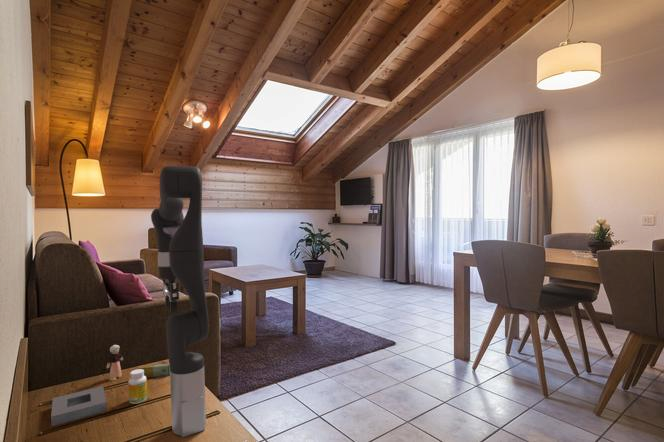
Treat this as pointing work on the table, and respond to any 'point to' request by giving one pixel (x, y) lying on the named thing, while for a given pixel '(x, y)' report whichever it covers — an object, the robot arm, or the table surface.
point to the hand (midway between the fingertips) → (171, 309)
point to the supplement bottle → (137, 387)
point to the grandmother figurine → (114, 363)
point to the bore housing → (78, 406)
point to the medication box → (156, 370)
